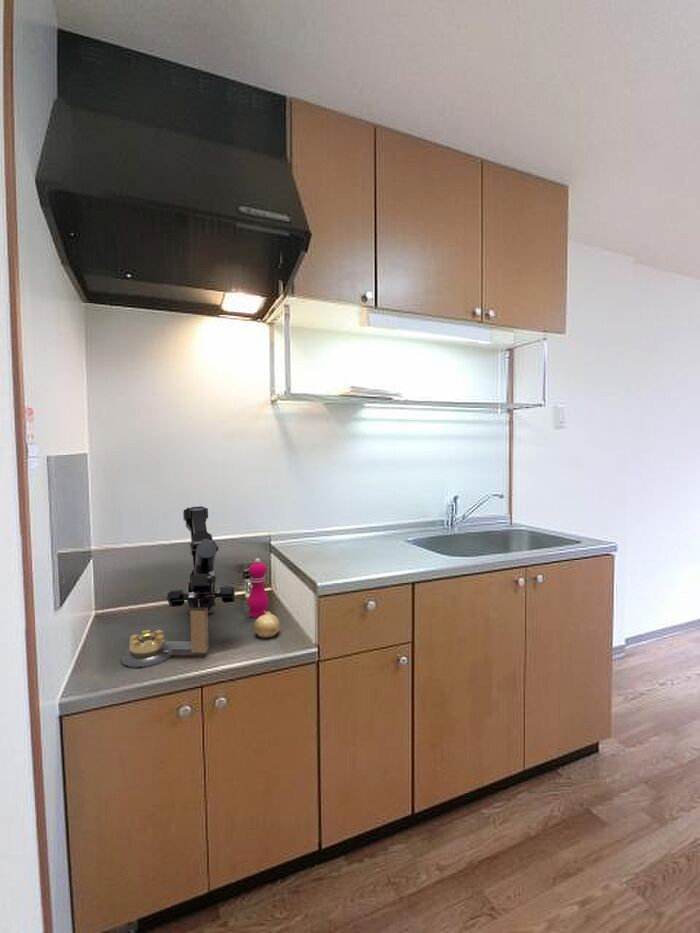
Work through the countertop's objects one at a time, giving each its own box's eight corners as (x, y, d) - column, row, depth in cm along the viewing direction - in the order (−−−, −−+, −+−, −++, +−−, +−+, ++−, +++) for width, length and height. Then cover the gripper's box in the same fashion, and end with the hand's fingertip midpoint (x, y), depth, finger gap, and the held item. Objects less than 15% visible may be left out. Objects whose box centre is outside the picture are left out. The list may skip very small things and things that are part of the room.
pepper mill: (263, 619, 150) (263, 561, 148) (244, 617, 151) (243, 560, 150) (271, 610, 157) (271, 556, 156) (253, 609, 158) (252, 555, 157)
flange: (116, 655, 125) (116, 649, 125) (163, 641, 134) (163, 636, 134) (129, 673, 115) (129, 667, 115) (179, 657, 124) (179, 651, 124)
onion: (284, 635, 138) (284, 613, 137) (262, 643, 132) (262, 620, 132) (270, 627, 144) (270, 606, 143) (249, 634, 138) (248, 612, 138)
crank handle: (123, 657, 120) (121, 615, 119) (139, 642, 129) (138, 602, 128) (201, 658, 120) (200, 615, 119) (212, 643, 129) (211, 603, 128)
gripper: (167, 563, 128) (160, 615, 117) (233, 559, 131) (232, 609, 121) (173, 581, 136) (167, 631, 126) (235, 577, 139) (234, 625, 129)
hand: (200, 624), depth 125 cm, fingers closed
